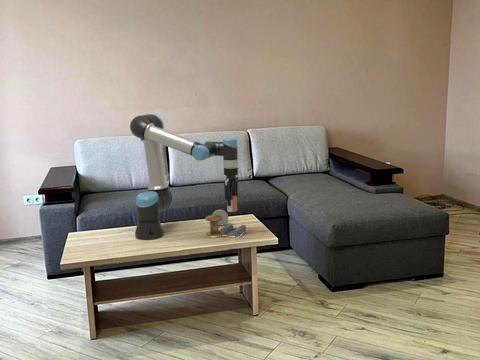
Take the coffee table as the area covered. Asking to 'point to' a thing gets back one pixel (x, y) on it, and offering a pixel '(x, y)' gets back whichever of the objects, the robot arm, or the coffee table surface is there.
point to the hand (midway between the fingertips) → (231, 210)
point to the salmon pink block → (234, 203)
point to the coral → (224, 216)
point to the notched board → (233, 230)
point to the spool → (214, 225)
